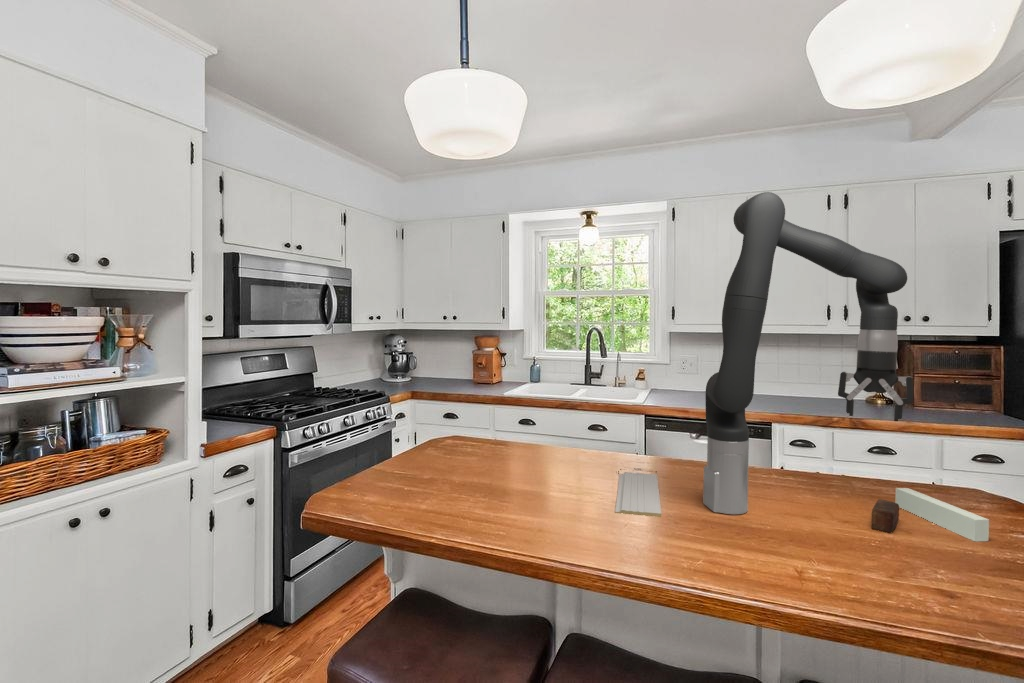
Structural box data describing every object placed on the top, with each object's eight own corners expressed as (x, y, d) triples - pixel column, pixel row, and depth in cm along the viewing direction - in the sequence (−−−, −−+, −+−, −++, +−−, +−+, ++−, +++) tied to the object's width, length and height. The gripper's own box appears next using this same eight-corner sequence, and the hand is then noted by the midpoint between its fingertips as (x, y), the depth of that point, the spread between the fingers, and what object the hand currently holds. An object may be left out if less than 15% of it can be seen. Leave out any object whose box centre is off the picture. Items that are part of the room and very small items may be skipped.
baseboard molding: (608, 515, 119) (661, 520, 116) (609, 503, 119) (661, 507, 116) (615, 476, 149) (656, 479, 146) (615, 466, 149) (656, 469, 146)
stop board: (974, 541, 103) (975, 519, 103) (895, 506, 123) (895, 488, 123) (988, 541, 103) (989, 519, 103) (906, 505, 123) (907, 487, 123)
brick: (893, 535, 106) (894, 513, 106) (870, 529, 109) (871, 508, 109) (899, 521, 114) (900, 500, 114) (878, 516, 117) (878, 496, 117)
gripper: (839, 348, 118) (835, 416, 119) (916, 351, 109) (912, 425, 110) (841, 347, 124) (838, 412, 125) (915, 350, 115) (911, 420, 116)
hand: (873, 418), depth 117 cm, fingers open, 8 cm apart
